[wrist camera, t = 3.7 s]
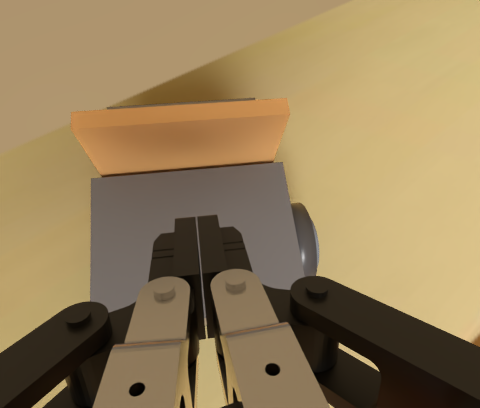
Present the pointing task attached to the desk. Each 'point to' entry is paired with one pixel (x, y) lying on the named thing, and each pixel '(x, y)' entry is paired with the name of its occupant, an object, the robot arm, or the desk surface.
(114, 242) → the camera housing
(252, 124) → the side door
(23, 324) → the desk surface
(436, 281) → the desk surface
